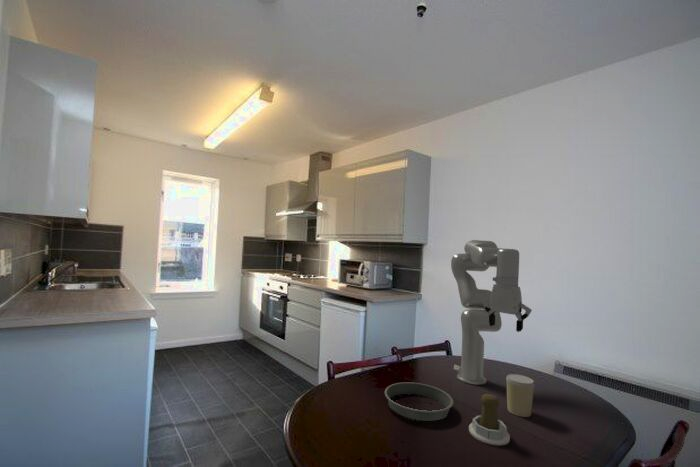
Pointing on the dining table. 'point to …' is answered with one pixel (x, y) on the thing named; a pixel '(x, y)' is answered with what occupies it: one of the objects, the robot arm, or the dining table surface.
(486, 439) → the ring holder
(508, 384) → the cream upright cylinder
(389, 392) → the cake pan
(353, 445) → the dining table surface
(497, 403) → the olive tapered block
